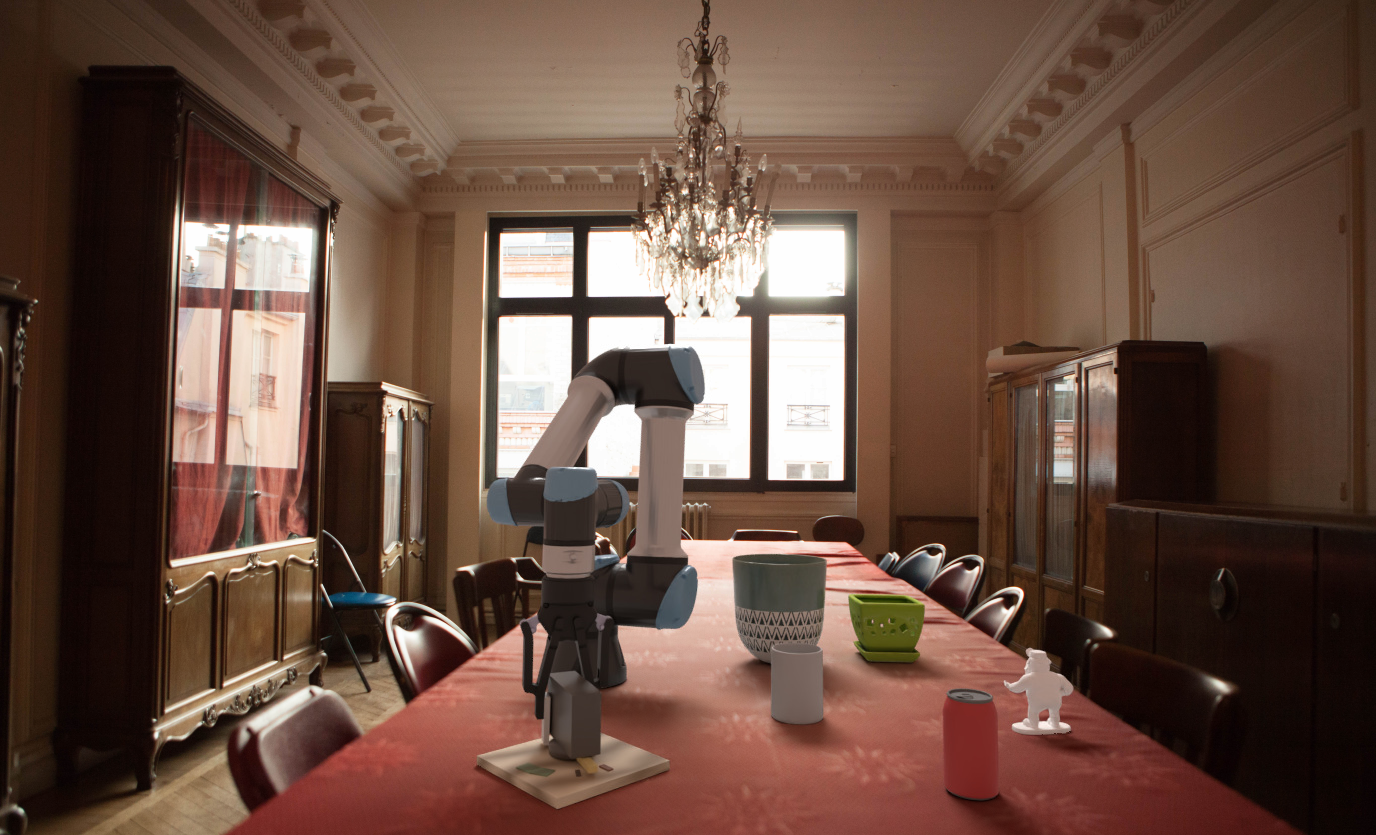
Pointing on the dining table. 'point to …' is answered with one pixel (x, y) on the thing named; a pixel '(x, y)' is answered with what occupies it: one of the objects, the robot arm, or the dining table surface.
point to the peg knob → (574, 719)
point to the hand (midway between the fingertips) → (563, 739)
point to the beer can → (970, 744)
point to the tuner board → (571, 770)
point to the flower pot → (887, 626)
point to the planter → (778, 600)
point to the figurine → (1041, 695)
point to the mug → (797, 683)
